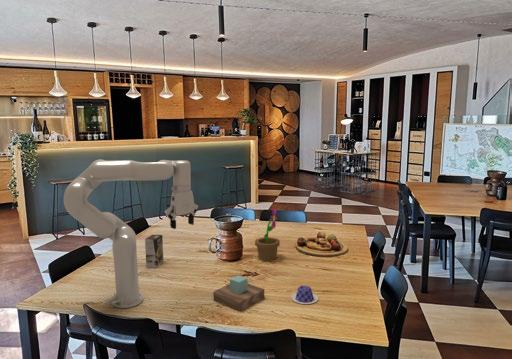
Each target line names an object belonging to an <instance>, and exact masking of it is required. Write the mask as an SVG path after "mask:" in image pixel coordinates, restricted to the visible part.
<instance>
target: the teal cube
mask: <svg viewBox="0 0 512 359" xmlns="http://www.w3.org/2000/svg"><path fill="white" fill-rule="evenodd" d="M247 283H248V278H247V277H244V276H242V275H236V276H233V277H231V278H229V284H230V291H232V292H234V293H237V294H241V293H243V292H245V291H247V290H248V286H247Z"/></svg>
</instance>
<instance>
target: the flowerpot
mask: <svg viewBox="0 0 512 359" xmlns="http://www.w3.org/2000/svg"><path fill="white" fill-rule="evenodd" d="M271 212H272V214H271V216H270V219H269V222H268V223H267V227H266V233H264V235H263V236H264V237H259V238H257V239H255V242H254V245H255V246H256V247H257V248H256V249H257V256H258V259H259V261H262V262H272V261H276V260H277V256H278V255H277V254H278V249H279V248H278V247H280V239H278V238H276V237H269V232H271V231H272V230H273V229H275V228H276V225H277V223H276V221H278V217H277V208H275V209H274V208H272V211H271Z"/></svg>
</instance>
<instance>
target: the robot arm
mask: <svg viewBox="0 0 512 359" xmlns="http://www.w3.org/2000/svg"><path fill="white" fill-rule="evenodd" d="M191 167H192V166H191V162H190V161H189V160H183V159H182V160H181V159H180V160H179V159H178V160H168V159H160V160H159V161H157V162H155V161H154V162H145V161H143V162H142V161H136V160H133V159H132V160H131V159H125V160H123V159H121V160H105V159H101V158H99V159H96V160H94V161H93V162H91V164H90V165H89V166H88V167H87V168H86V169H85V170H84V171H82V172H81V173H80V174H79V175H78V176H77V177H76V178H75V179H74V180H73V181H71V182H70V183H69V184H68V186H67V187H66V188H65V191H64V194H63V205H64V208H65V211H67V213H68V214H69V215H70V216H71V217H73V218H74V219H75V220H76V221H78V222H79V223H80V224H82V226H83V227H85V228H86V229H88V230H89V231H90V232H92V234H94V235H95V236H97V237H98V238H100V239H103V240H104V239H110V241H112V245H111V246H112V247H111V248H112V257H113V269H114V280H115V293H114V294H113V296H112V297H111V298H107V299H106V300H105V304H106V305H110V304H111V305H113V306H114V307H115V308H118V309H129V308H133V307H136V306H139V305H140V304H142V303H143V301H144V295H142V294H141V293H140V285H139V284H140V283H139V271H138V270H139V268H138V258H137V257H138V252H137V249H138V248H137V236H136V235H137V234H136V233H135V231H134V230H133V228H132V227H131V226H130V225H128V224H127V223H125V221H123V220H122V219H121V218H119V217H118V216H117V215H115V214H114V213H112V212H109V211H103V212H102V211H101V210H100V209H98V208H97V207H96V206H95V205H93V204H92V203H90V202H89V201H88V197H89V196H90V194H91V193H92V192H93V191H95V189H96V188H97V187H98V186H99V185H101V183H102V182H112V181H113V182H116V181H117V182H118V181H119V182H121V181H151V182H152V181H166V180H168V179H171V178H173V179H172V182H173V183H172V187H171V191H172V192H171V197H170V206H169V207H168V208H167V209H165V210H164V213H165V215H166V217H167V218H168V219H169V224H170V228H171V229H174V230H175V229H177V219H176V218H177V217H178V216H183V215H187V214H188V215H187V218H188V219H187V222H188V224H189V225H192V226H194V224H195V216H196V213H197V212H198V208H199V205H198V204H196V203H195V199H194V198H195V197H194V195H193V194H194V192H193V191H192V190H191V189H192V188H191V187H192V186H191V184H192V183H191V178H192V177H191V174H192V173H191Z"/></svg>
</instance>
